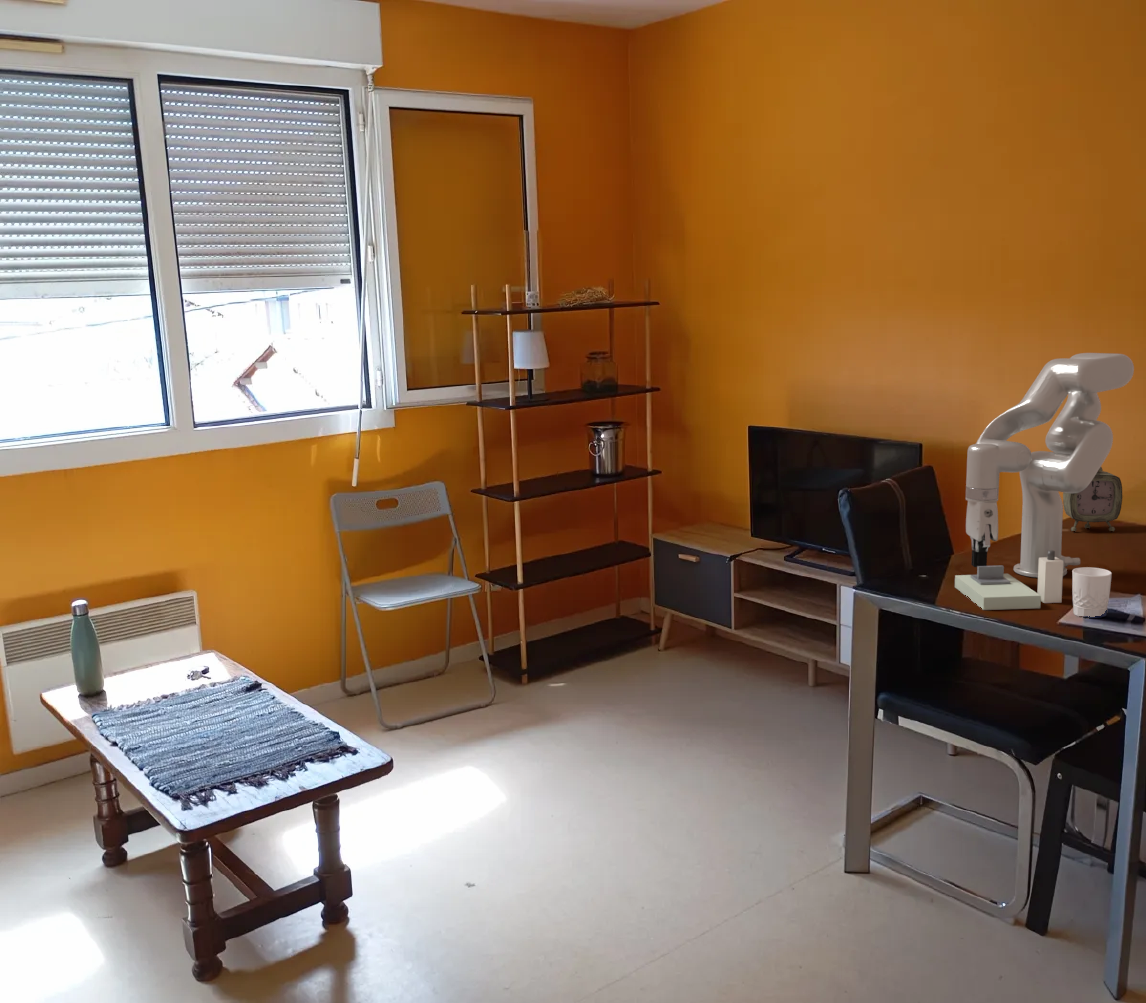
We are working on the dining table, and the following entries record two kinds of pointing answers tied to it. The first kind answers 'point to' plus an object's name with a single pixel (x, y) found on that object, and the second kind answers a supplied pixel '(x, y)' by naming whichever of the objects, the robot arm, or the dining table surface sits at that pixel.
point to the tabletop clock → (1095, 501)
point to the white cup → (1090, 591)
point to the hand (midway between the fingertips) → (978, 566)
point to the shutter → (990, 575)
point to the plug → (1050, 578)
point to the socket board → (998, 594)
